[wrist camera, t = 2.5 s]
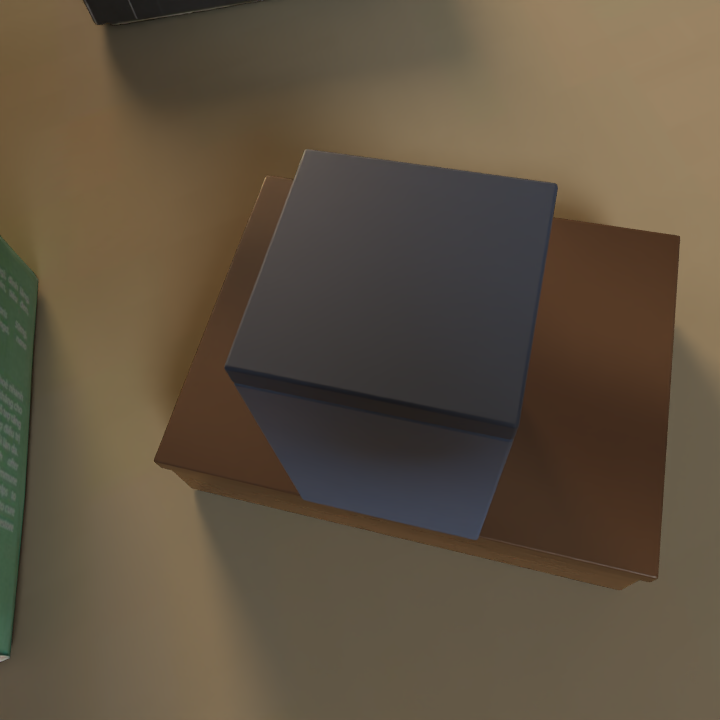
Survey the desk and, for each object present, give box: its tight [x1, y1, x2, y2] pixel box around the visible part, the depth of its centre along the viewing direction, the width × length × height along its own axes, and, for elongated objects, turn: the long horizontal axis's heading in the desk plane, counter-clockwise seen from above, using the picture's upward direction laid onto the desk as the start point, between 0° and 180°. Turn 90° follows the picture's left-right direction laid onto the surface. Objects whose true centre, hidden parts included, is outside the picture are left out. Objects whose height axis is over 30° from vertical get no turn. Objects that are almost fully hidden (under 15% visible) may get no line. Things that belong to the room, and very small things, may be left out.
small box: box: [224, 149, 558, 540], centre depth 15 cm, size 5×5×8 cm
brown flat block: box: [154, 175, 680, 590], centre depth 21 cm, size 10×13×3 cm
